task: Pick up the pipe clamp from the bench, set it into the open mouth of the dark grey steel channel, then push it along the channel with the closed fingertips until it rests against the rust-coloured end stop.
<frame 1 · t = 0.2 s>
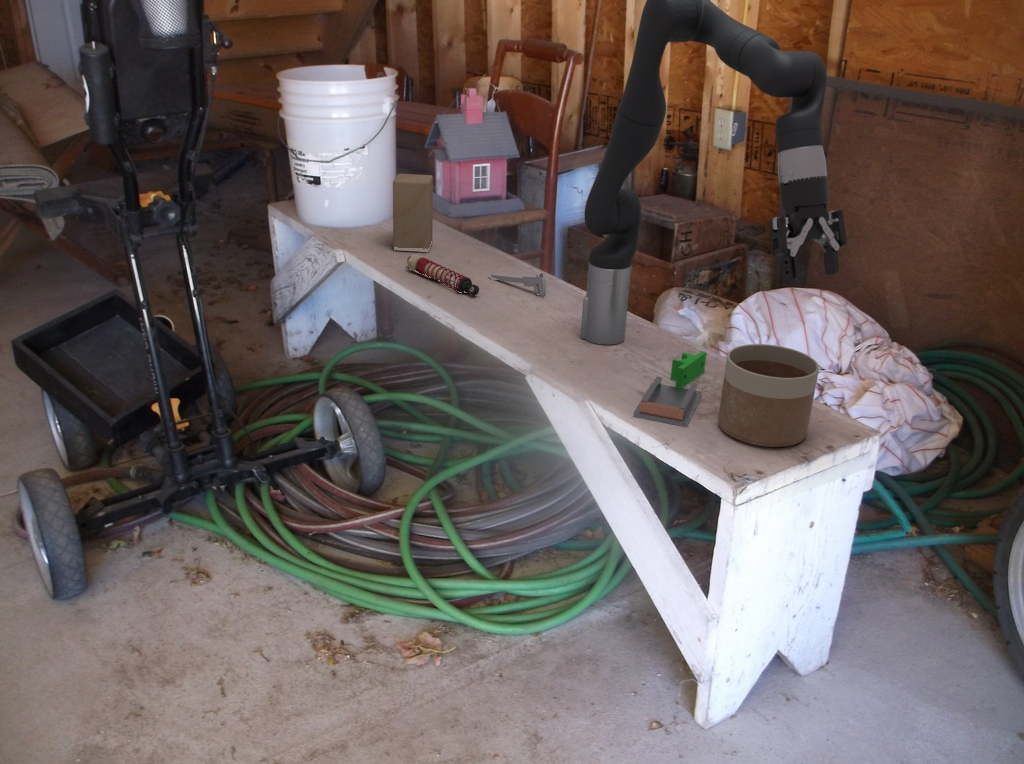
hand: (812, 277, 156), 31 cm above the bench, tool tilted 20°, fingers open, 8 cm apart
steel channel: (668, 405, 181), on the bench
planter: (761, 430, 173), on the bench
caliper: (515, 288, 243), on the bench
wooden block: (413, 248, 272), on the bench
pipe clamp: (684, 379, 194), on the bench
shock absorber: (441, 284, 244), on the bench
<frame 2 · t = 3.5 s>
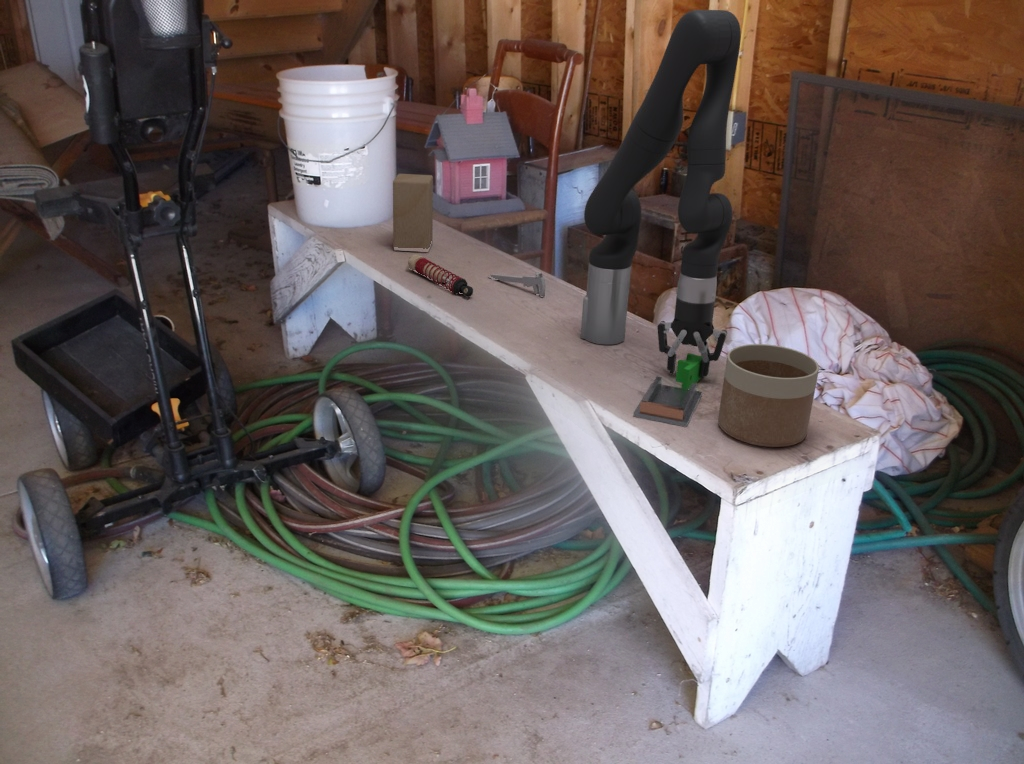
hand: (687, 374, 193), 1 cm above the bench, tool pointing down, fingers open, 5 cm apart
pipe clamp: (689, 380, 193), on the bench, touching gripper
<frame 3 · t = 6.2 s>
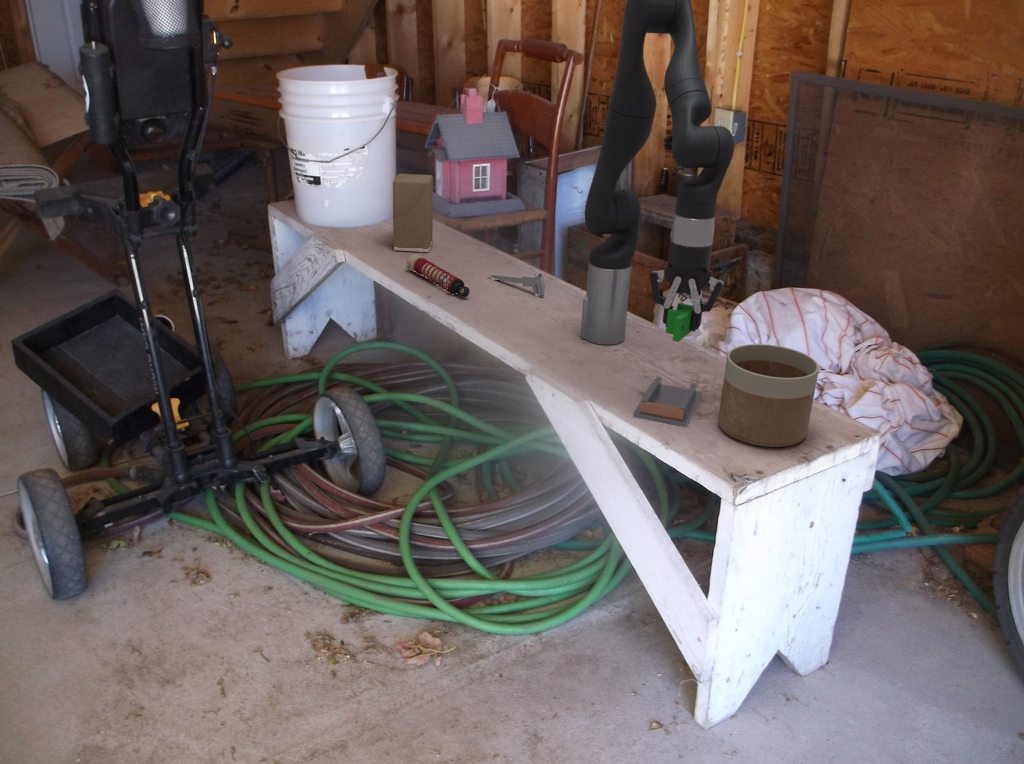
hand: (680, 327, 178), 15 cm above the bench, tool pointing down, fingers closed on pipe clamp, 4 cm apart
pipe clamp: (680, 331, 178), point 14 cm above the bench, touching gripper
when the fingers open (4 cm above the bench, at t = 8.4 s): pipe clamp drops 3 cm, resting on steel channel.
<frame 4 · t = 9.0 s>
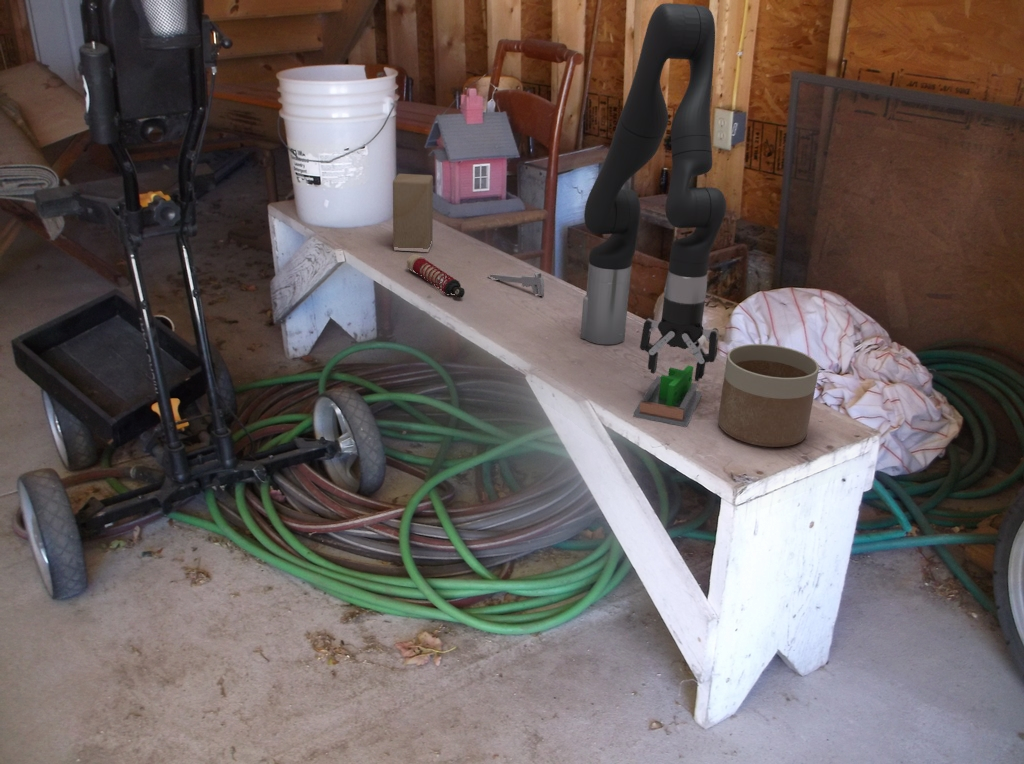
hand: (675, 375, 182), 5 cm above the bench, tool pointing down, fingers open, 8 cm apart
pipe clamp: (673, 396, 184), point 1 cm above the bench, touching steel channel
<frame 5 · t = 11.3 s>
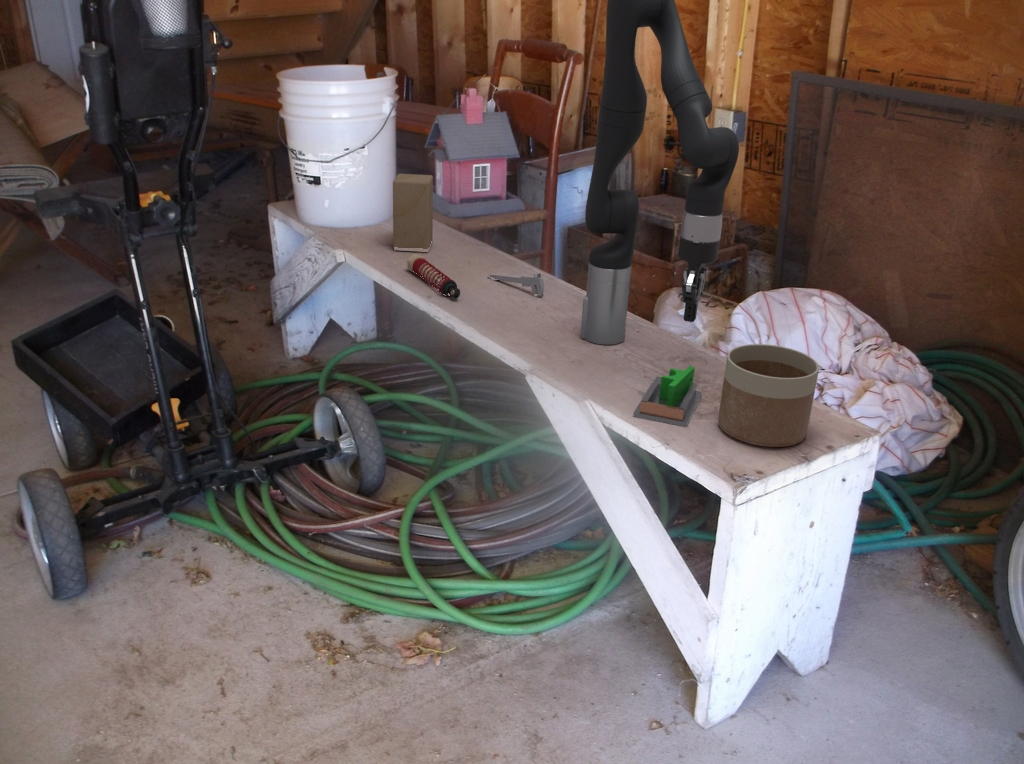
hand: (689, 320, 188), 13 cm above the bench, tool pointing down, fingers closed
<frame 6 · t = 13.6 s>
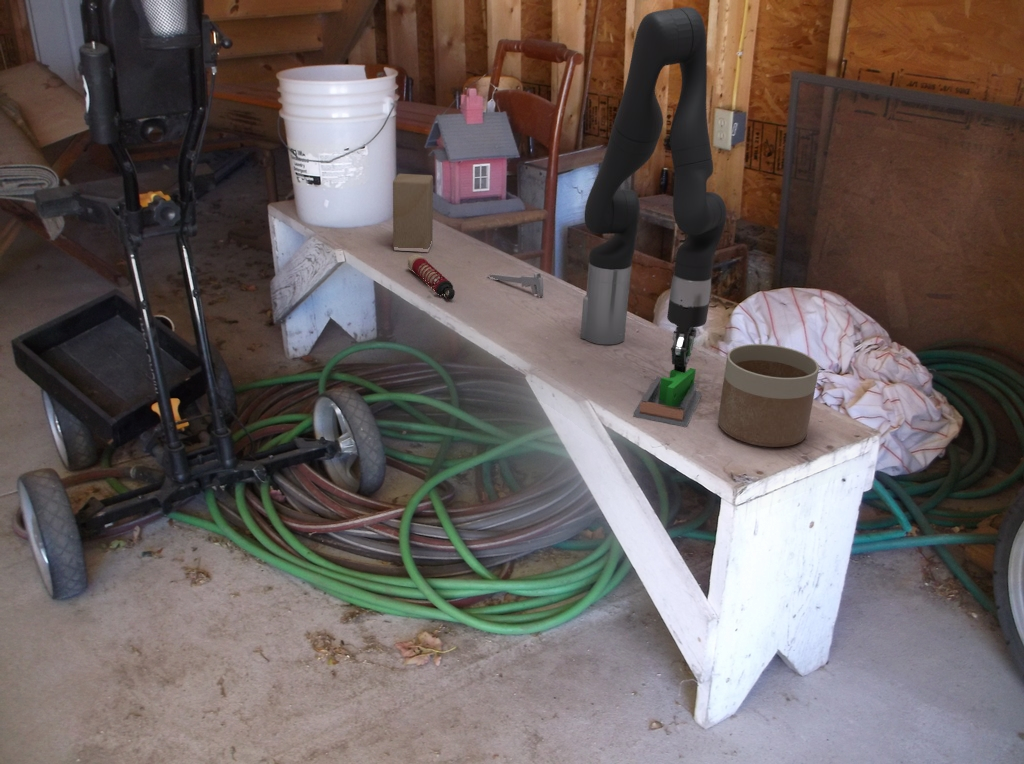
hand: (678, 380, 188), 2 cm above the bench, tool pointing down, fingers closed
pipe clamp: (673, 398, 183), point 1 cm above the bench, touching gripper, steel channel
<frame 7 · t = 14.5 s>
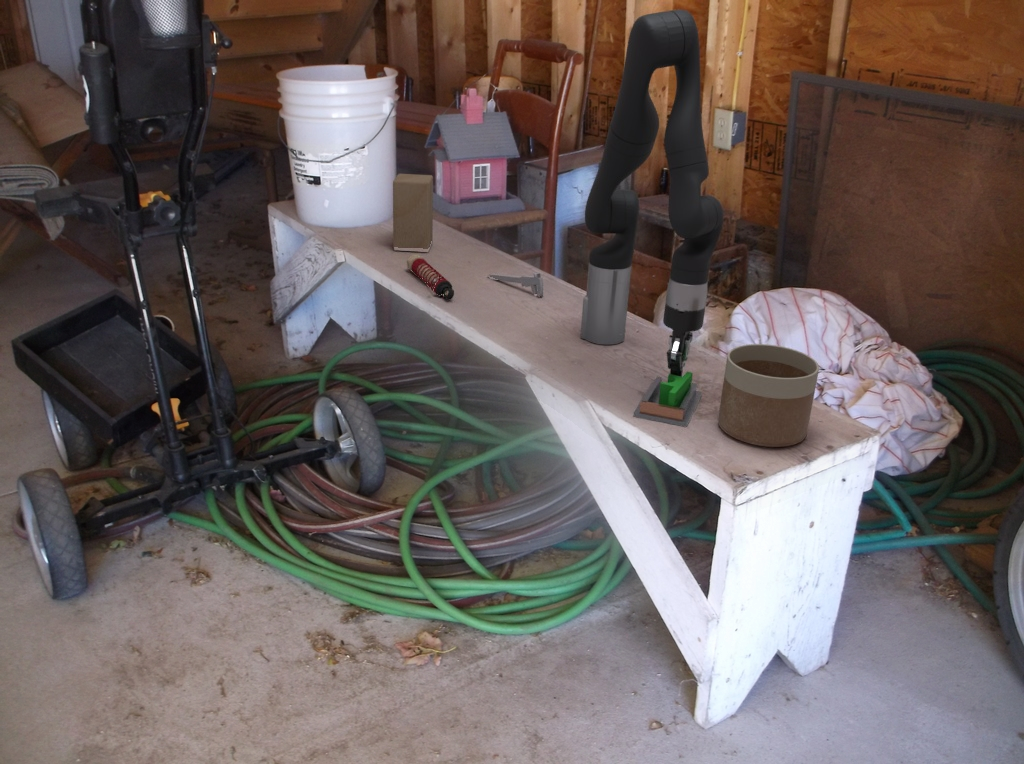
hand: (674, 385, 186), 1 cm above the bench, tool pointing down, fingers closed
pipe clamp: (672, 403, 181), point 1 cm above the bench, touching gripper, steel channel
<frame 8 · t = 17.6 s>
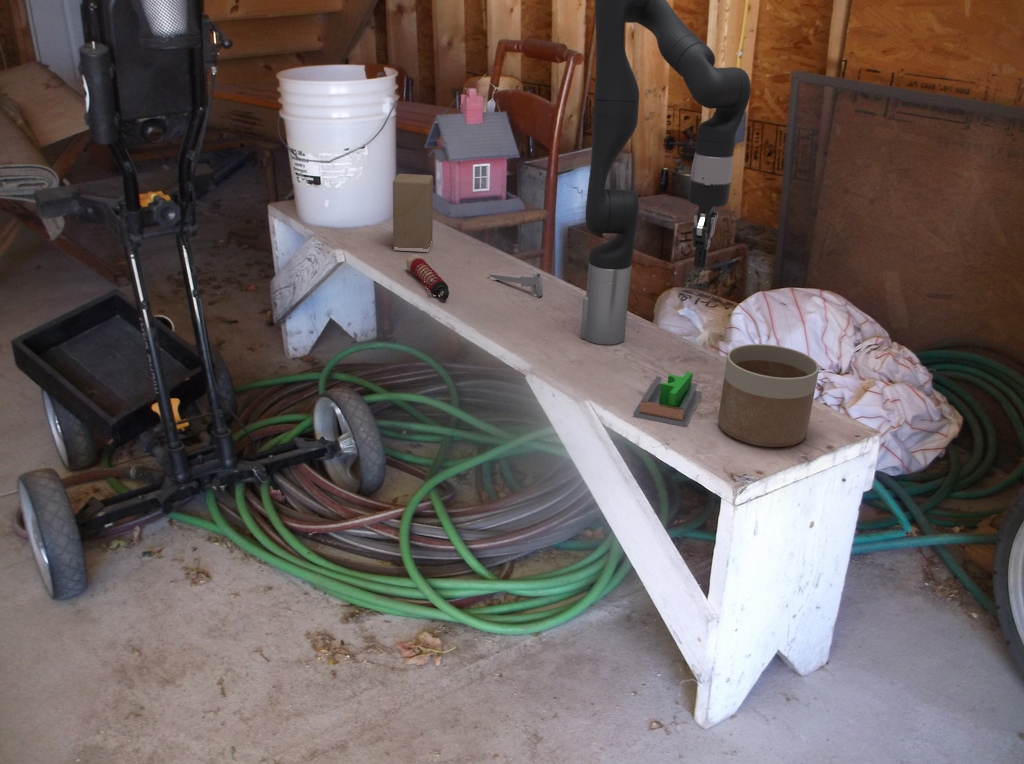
hand: (699, 266, 186), 23 cm above the bench, tool pointing down, fingers closed
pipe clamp: (672, 403, 181), point 1 cm above the bench, touching steel channel
at the end: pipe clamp 1.1 cm off-centre on the steel channel, point 0.6 cm above the steel channel's base; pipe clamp touching steel channel; the gripper is holding nothing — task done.
